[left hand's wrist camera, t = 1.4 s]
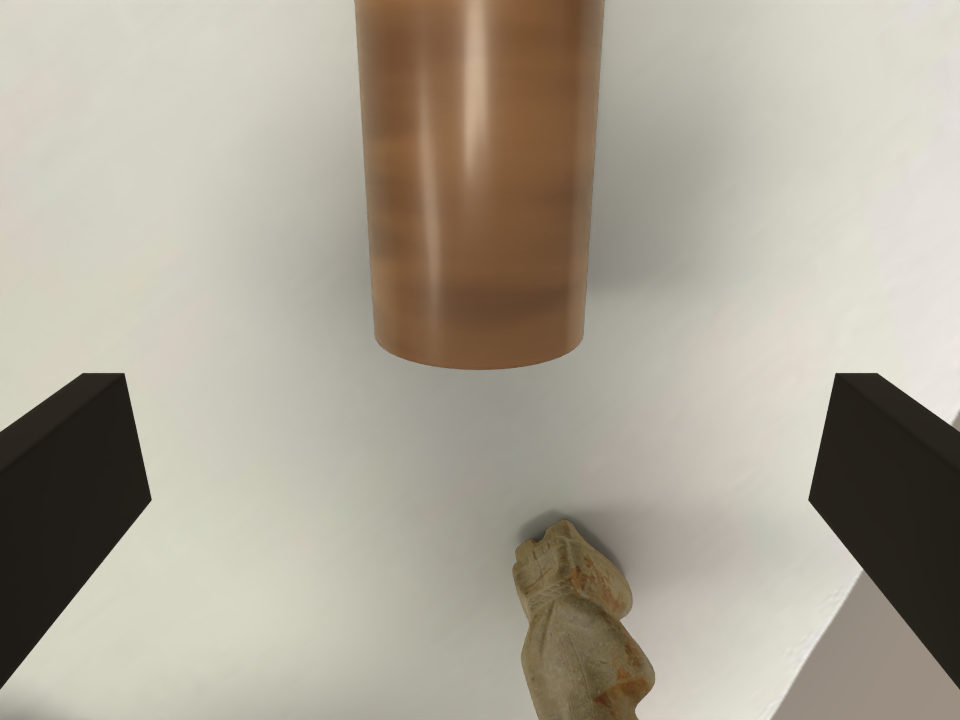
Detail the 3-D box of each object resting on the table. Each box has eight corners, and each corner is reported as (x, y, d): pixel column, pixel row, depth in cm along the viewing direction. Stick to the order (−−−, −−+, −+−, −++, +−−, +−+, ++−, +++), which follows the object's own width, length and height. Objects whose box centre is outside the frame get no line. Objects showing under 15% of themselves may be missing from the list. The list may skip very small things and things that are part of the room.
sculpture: (557, 622, 40) (599, 904, 26) (490, 541, 38) (496, 801, 24) (642, 578, 39) (733, 848, 25) (578, 491, 37) (638, 734, 23)
